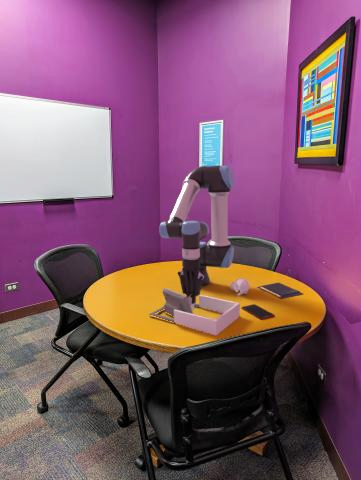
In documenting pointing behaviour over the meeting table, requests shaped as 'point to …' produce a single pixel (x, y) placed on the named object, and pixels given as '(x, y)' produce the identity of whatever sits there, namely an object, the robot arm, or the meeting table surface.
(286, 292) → the wallet
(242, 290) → the pale pink lumpy piece
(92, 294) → the meeting table surface
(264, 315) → the cell phone
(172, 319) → the frame
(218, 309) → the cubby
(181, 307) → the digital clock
